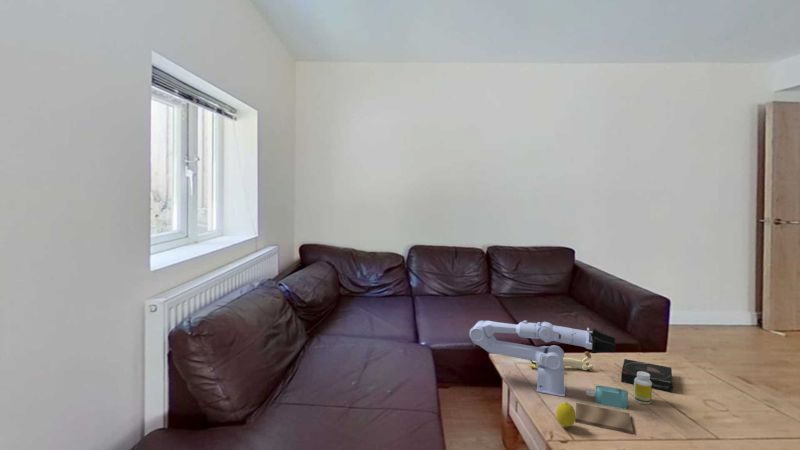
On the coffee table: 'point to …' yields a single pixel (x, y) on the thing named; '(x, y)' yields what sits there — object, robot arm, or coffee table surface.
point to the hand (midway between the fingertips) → (615, 344)
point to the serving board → (603, 418)
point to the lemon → (565, 414)
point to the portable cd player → (658, 374)
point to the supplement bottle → (642, 388)
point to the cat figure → (572, 363)
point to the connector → (610, 396)
